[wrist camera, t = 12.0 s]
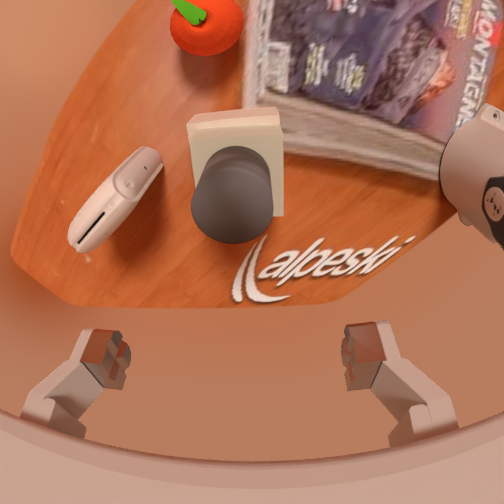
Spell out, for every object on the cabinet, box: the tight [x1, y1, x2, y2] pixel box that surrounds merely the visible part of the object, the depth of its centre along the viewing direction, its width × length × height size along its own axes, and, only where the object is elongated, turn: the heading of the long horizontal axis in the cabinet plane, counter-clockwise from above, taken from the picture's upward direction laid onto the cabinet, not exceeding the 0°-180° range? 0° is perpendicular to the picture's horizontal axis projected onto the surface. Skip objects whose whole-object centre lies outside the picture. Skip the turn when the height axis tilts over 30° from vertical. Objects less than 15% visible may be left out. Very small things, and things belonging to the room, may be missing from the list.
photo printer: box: [68, 146, 163, 253], centre depth 31 cm, size 10×4×12 cm, turn 129°
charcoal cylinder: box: [191, 146, 274, 244], centre depth 25 cm, size 6×6×6 cm
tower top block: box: [189, 124, 283, 216], centre depth 29 cm, size 8×8×4 cm
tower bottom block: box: [186, 107, 284, 197], centre depth 32 cm, size 9×9×5 cm
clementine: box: [170, 0, 244, 56], centre depth 22 cm, size 8×7×7 cm
